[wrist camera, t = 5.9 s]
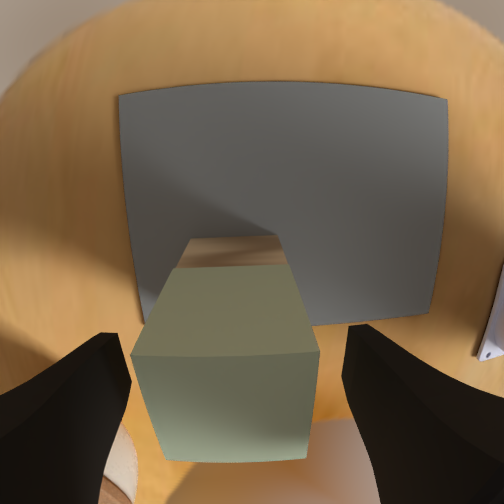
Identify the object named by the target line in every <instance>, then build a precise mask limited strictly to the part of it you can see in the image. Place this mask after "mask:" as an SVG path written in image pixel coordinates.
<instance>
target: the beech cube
mask: <svg viewBox="0 0 504 504" xmlns="http://www.w3.org/2000/svg"><path fill="white" fill-rule="evenodd" d="M280 264H288V263H287V260H286V257H285V254H284V251H283V249H282V246H281V243H280V241H279V238H278V235H267V236H240V237H216V238H193V239H190V241H189V243H188V245H187V247H186V249H185V251H184V253H183V255H182V256H181V258H180V260H179V262H178V264H177V266H176V268H200V267H228V266H255V265H280Z"/></svg>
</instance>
